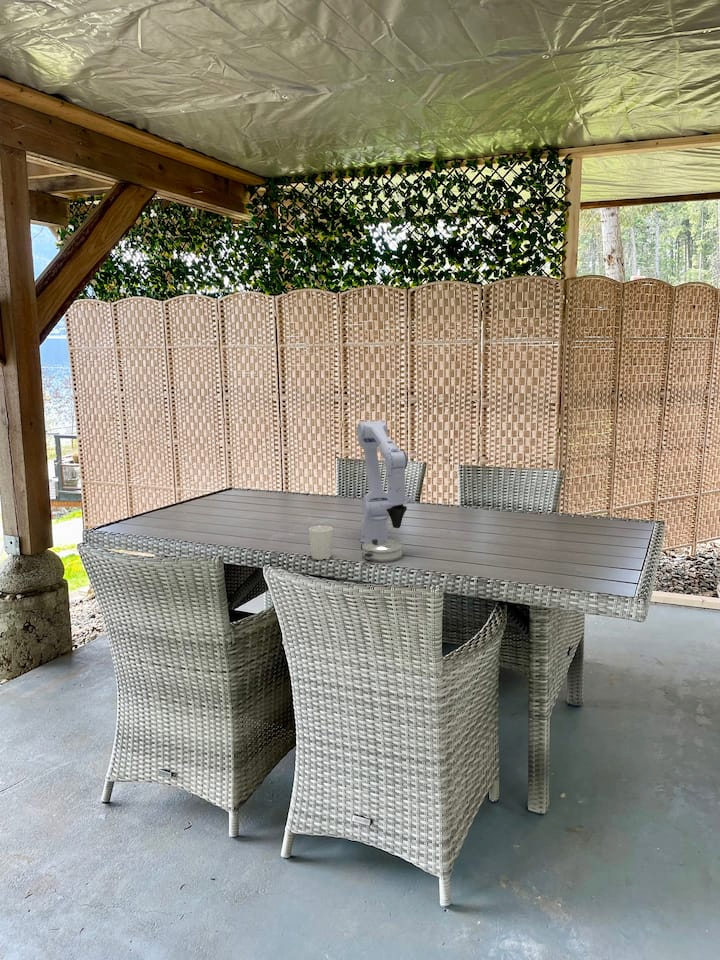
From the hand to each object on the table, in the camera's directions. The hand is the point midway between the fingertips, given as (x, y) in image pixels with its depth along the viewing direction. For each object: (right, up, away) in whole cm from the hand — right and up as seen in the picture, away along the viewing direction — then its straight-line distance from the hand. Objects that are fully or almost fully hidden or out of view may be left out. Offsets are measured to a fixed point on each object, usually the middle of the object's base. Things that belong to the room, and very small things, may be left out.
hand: (396, 527), depth 232 cm
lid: (-5, -7, 0) cm, 8 cm away
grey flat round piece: (-5, -10, 0) cm, 11 cm away
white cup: (-25, -10, +1) cm, 27 cm away
